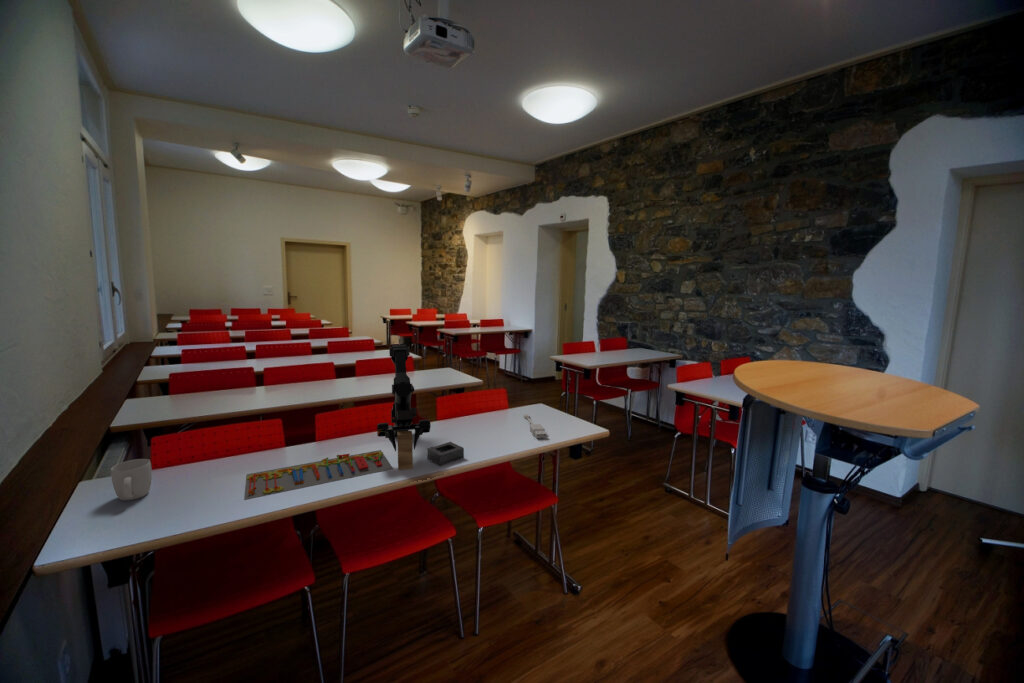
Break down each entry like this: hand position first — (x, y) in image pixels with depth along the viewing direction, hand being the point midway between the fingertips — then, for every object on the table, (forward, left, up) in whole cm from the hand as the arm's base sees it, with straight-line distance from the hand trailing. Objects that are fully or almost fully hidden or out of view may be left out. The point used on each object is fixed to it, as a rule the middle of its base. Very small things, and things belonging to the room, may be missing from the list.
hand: (405, 449), depth 149 cm
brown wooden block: (-1, 0, -7) cm, 7 cm away
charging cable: (-30, +59, -8) cm, 66 cm away
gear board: (-5, -28, -8) cm, 30 cm away
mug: (0, -80, -7) cm, 80 cm away
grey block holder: (-5, +15, -7) cm, 17 cm away
